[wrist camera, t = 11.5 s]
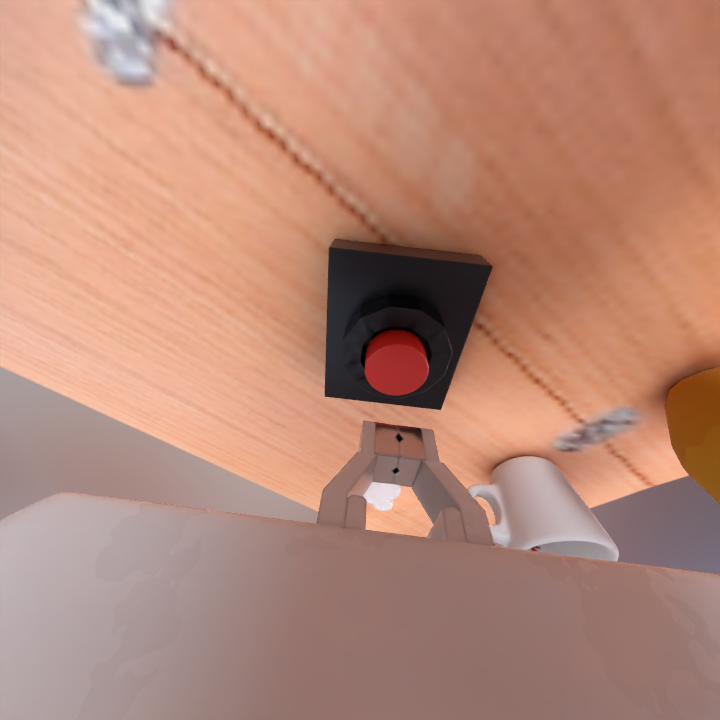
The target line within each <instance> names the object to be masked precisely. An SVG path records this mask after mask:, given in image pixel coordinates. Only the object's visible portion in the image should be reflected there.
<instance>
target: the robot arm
mask: <svg viewBox="0 0 720 720" xmlns="http://www.w3.org/2000/svg"><path fill="white" fill-rule="evenodd" d="M372 482H377V483H387V484H395V485H402V486H408V487H412V489H413V491H414V492H415V494H416V496H417V497H418V499H419V501H420V502H421V504H422V506H423V507H424V509H425V511H426V512H427V514H428V516H429V517H430V519H431V521H432V522H433V524H434V525H433V527H432V529H431V531H430V533H429V535H428V536H427V537H419V536H411V535H403V534H395V533H387V532H379V531H371V530H365V525H366V501H367V500H366V499H365V498H364V497H363V495H364V494H365V492H366V491H367V490H368V488H369V487H370V485H371V484H372ZM0 720H720V575H718V574H710V573H701V572H694V571H686V570H678V569H670V568H663V567H654V566H646V565H638V564H631V563H622V562H615V561H608V560H600V559H592V558H584V557H576V556H568V555H560V554H552V553H544V552H537V551H529V550H521V549H513V548H505V547H497V546H495V543H494V540H493V536H492V533H491V530H490V526H489V523H488V519H487V516H486V513H485V510H484V509H483V508H482V507H481V506H480V505H479V503H478V502H477V501H476V500H475V499H474V498H473V497H472V495H471V494H470V493H469V492H468V491H467V490H466V488H465V487H464V486H463V485H462V484H461V483H460V482H459V480H458V479H457V478H456V477H455V476H454V475H453V474H452V472H451V471H450V470H449V469H448V468H447V467H446V465H445V464H444V463H441V462H440V461H439V456H438V451H437V446H436V441H435V436H434V431H433V430H431V429H423V428H415V427H407V426H398V425H397V426H396V425H390V424H383V423H377V422H369V421H363V425H362V431H361V437H360V443H359V451H358V452H357V453H356V454H355V455H354V456H353V457H352V458H351V459H350V460H349V462H348V463H347V464H346V465H345V466H344V467H343V468H342V469H341V470H340V471H339V473H338V474H337V475H336V476H335V477H334V478H333V479H332V480H331V481H330V483H329V484H328V485H327V486H326V487H325V488H324V489H323V492H322V497H321V502H320V507H319V512H318V518H317V523H308V522H299V521H292V520H284V519H276V518H268V517H261V516H252V515H245V514H237V513H229V512H222V511H214V510H206V509H198V508H191V507H183V506H174V505H167V504H159V503H151V502H144V501H136V500H128V499H120V498H112V497H105V496H97V495H90V494H82V493H73V492H62V493H57V494H54V495H52V496H49V497H47V498H45V499H42V500H40V501H38V502H36V503H33V504H31V505H29V506H27V507H25V508H23V509H21V510H19V511H16V512H14V513H12V514H10V515H8V516H6V517H4V518H2V519H0Z"/></svg>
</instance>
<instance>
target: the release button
mask: <svg viewBox="0 0 720 720" xmlns="http://www.w3.org/2000/svg"><path fill="white" fill-rule="evenodd" d="M428 372H429V365H428V361H427V356H426V352H425V348H424V345H423V343H422V342H421V340H420V339H419V338H418V337H417V336H416V335H414V334H412V333H410V332H408V331H405V330H398V329H395V330H388V331H384V332H382V333H380V334H378V335H377V336H376V337H374V338H373V339H372V340H371V342H370V343H369V345H368V347H367V350H366V359H365V376H366V379H367V381H368V382H369V384H370V385H371V386H372V387H373V388H375V389H376V390H378V391H379V392H382V393H384V394H388V395H404V394H408V393H411V392H413V391H415V390H416V389H418V388H419V387H420V386H421V385H422V384H423V383H424V382H425V380H426V378H427V376H428Z"/></svg>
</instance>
